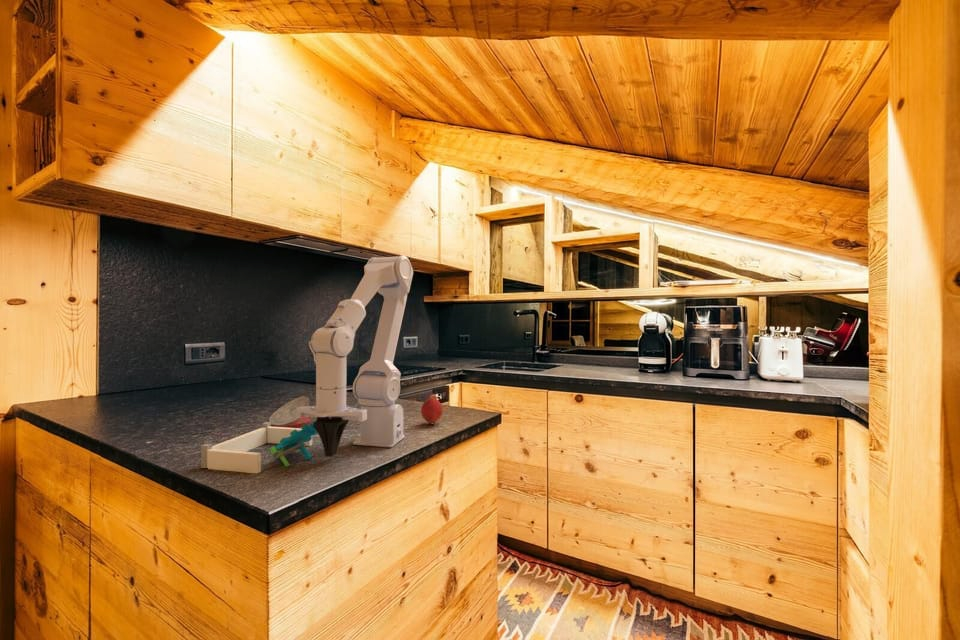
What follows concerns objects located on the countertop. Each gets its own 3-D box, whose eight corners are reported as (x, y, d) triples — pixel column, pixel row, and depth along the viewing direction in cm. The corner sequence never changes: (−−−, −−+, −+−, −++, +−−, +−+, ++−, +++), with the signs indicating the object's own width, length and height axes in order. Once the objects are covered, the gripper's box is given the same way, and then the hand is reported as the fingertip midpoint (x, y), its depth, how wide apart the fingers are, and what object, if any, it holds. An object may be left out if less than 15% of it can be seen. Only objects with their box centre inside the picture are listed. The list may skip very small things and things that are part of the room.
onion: (428, 428, 105) (428, 397, 105) (417, 423, 109) (417, 394, 109) (446, 424, 109) (447, 395, 109) (435, 420, 113) (435, 391, 113)
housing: (312, 444, 91) (312, 425, 91) (256, 473, 74) (256, 450, 74) (266, 440, 94) (265, 422, 94) (201, 468, 77) (201, 445, 77)
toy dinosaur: (305, 439, 90) (323, 413, 85) (320, 460, 88) (339, 435, 84) (257, 462, 80) (275, 433, 76) (273, 486, 78) (292, 458, 74)
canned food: (308, 451, 101) (311, 420, 97) (263, 451, 97) (264, 419, 93) (312, 420, 110) (315, 391, 106) (272, 419, 107) (273, 389, 103)
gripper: (286, 389, 78) (286, 458, 78) (354, 392, 75) (354, 464, 75) (308, 383, 85) (308, 447, 85) (371, 385, 82) (371, 451, 82)
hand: (331, 454), depth 81 cm, fingers closed
